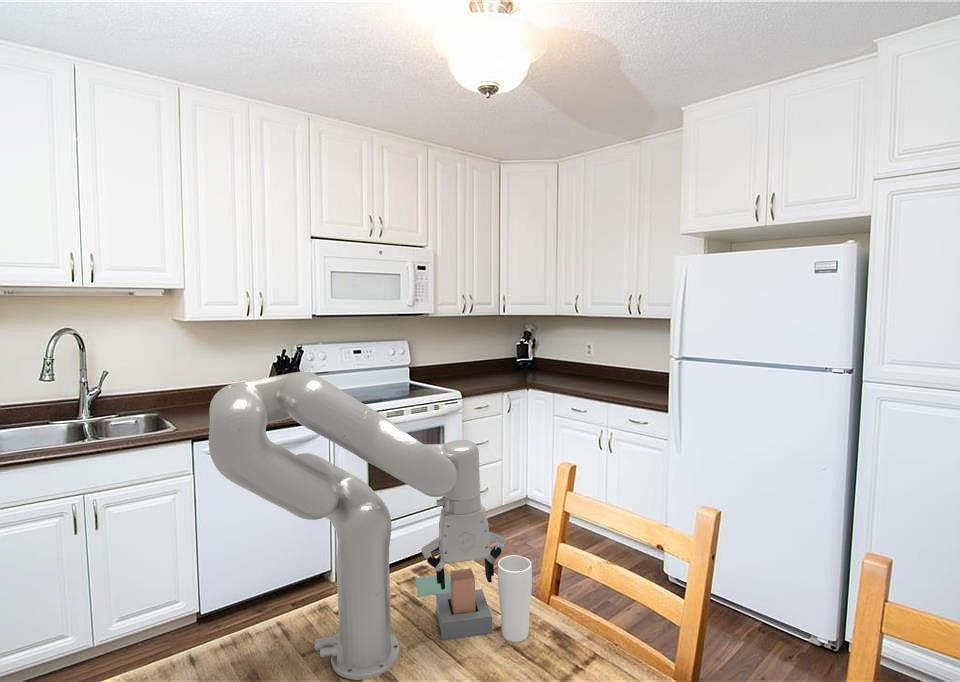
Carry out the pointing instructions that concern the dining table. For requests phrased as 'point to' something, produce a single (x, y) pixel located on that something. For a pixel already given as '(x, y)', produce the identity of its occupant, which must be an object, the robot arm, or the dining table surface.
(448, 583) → the mat
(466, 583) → the peg
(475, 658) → the dining table surface
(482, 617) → the pocket block
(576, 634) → the dining table surface
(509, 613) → the drinking glass
